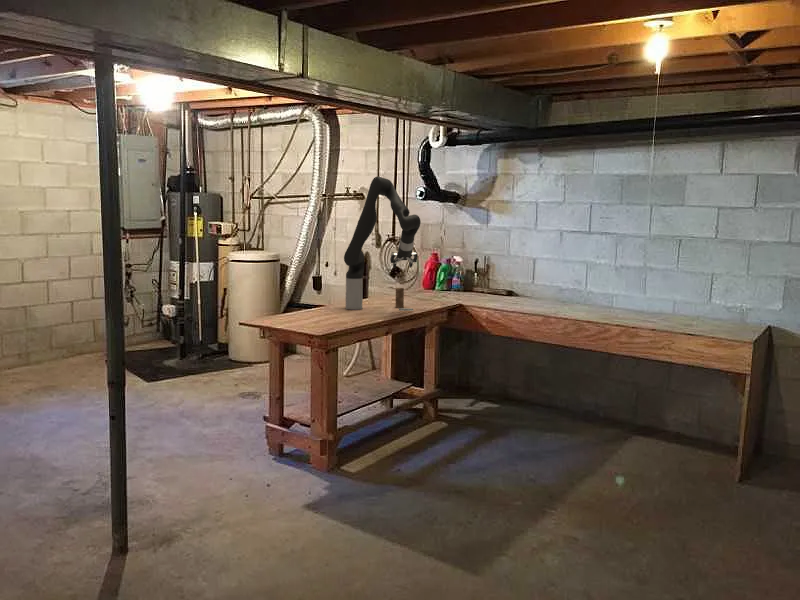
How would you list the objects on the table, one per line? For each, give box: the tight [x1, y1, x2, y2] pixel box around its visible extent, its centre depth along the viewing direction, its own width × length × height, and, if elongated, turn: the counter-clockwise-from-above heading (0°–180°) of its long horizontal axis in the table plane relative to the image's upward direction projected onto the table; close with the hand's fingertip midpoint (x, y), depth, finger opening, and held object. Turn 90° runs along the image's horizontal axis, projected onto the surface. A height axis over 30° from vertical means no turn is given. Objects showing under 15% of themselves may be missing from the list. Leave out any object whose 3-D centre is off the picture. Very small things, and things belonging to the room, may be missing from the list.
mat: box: [398, 307, 414, 312], centre depth 373 cm, size 8×8×1 cm
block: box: [394, 287, 405, 309], centre depth 380 cm, size 4×4×11 cm
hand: (402, 266), depth 366 cm, fingers open, 8 cm apart
